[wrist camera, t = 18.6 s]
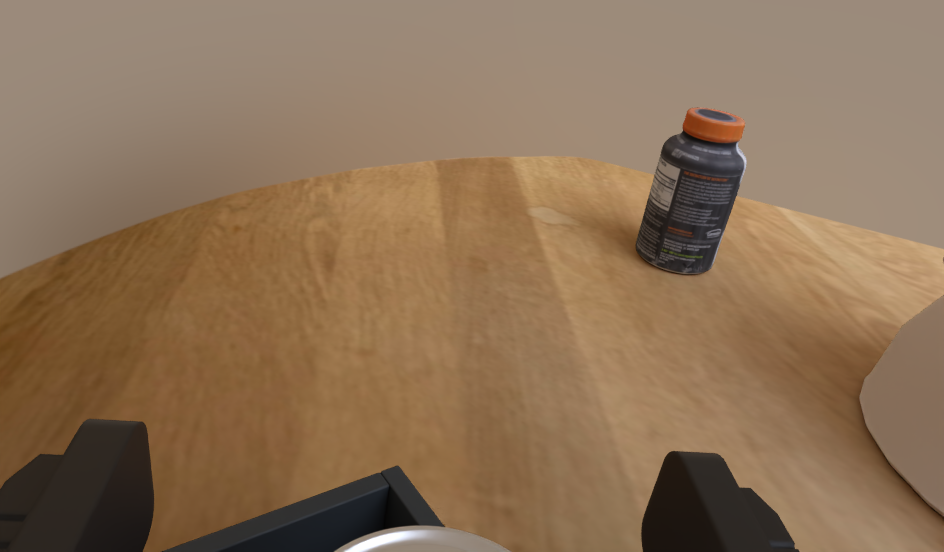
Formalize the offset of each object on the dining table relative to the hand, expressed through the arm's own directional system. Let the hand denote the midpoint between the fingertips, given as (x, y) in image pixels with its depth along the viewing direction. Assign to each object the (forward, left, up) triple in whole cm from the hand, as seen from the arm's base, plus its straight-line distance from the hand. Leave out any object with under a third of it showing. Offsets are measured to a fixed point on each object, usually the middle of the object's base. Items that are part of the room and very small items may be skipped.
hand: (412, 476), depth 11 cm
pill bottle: (-38, -22, -14) cm, 46 cm away
